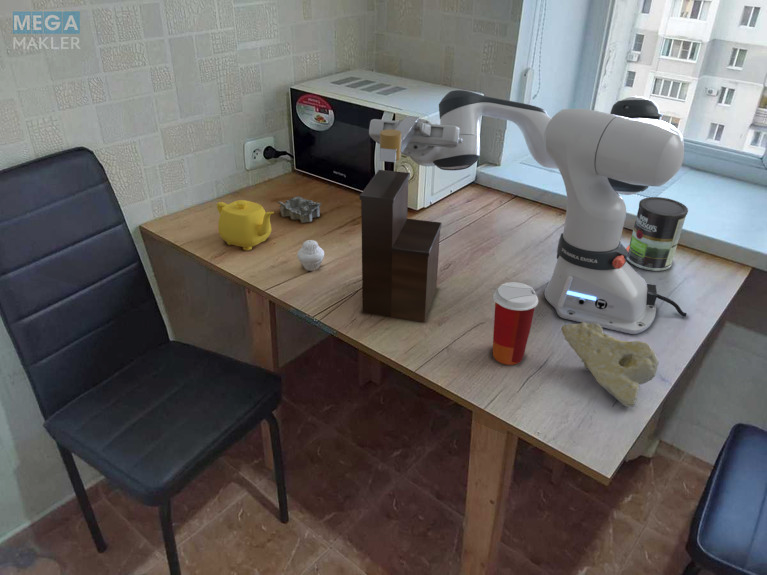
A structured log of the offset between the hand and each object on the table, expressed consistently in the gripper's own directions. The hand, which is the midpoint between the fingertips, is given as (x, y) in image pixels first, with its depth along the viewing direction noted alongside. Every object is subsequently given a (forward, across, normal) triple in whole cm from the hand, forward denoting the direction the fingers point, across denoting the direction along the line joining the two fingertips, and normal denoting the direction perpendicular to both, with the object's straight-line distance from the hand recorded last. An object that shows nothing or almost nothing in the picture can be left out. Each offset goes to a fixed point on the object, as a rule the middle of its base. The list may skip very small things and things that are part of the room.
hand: (408, 124), depth 129 cm
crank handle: (+5, 0, -5) cm, 7 cm away
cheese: (+15, -43, -45) cm, 64 cm away
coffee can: (-27, -56, -21) cm, 66 cm away
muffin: (-6, +20, -33) cm, 39 cm away
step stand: (+1, -3, -37) cm, 37 cm away
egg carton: (-29, +32, -20) cm, 48 cm away
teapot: (-13, +39, -29) cm, 50 cm away
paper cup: (+12, -27, -44) cm, 53 cm away
